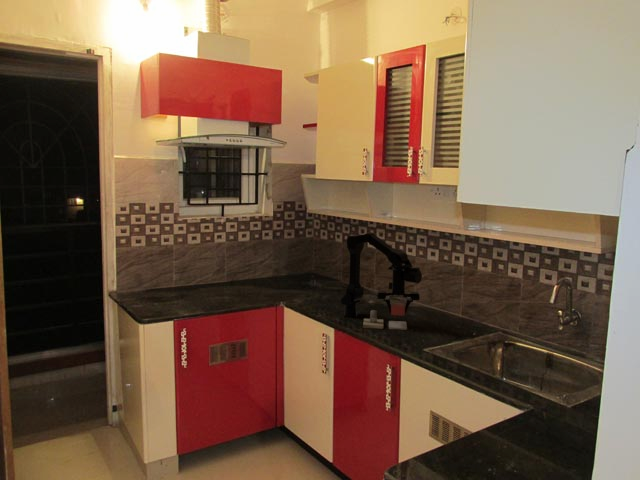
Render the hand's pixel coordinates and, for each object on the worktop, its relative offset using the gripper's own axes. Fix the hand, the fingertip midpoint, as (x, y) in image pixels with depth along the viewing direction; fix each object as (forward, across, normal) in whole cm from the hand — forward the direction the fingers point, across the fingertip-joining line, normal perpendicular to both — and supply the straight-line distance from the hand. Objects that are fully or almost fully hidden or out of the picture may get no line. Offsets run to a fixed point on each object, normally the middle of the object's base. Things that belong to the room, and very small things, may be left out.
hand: (397, 313), depth 246 cm
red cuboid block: (0, 0, 0) cm, 0 cm away
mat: (+6, 0, 0) cm, 6 cm away
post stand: (+6, +11, 0) cm, 12 cm away
